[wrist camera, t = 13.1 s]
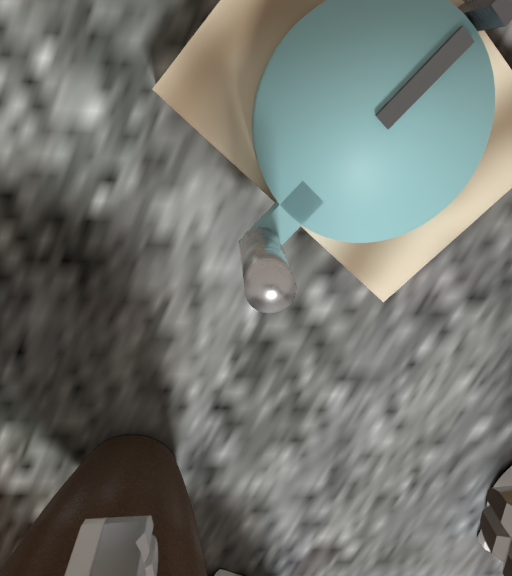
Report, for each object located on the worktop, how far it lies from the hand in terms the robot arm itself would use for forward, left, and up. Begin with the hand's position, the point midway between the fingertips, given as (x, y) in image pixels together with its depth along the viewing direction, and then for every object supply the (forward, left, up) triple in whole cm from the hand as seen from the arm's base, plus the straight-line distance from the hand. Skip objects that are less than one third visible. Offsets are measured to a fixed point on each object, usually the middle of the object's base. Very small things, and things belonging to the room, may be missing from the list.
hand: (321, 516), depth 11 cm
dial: (+1, -8, -19) cm, 21 cm away
